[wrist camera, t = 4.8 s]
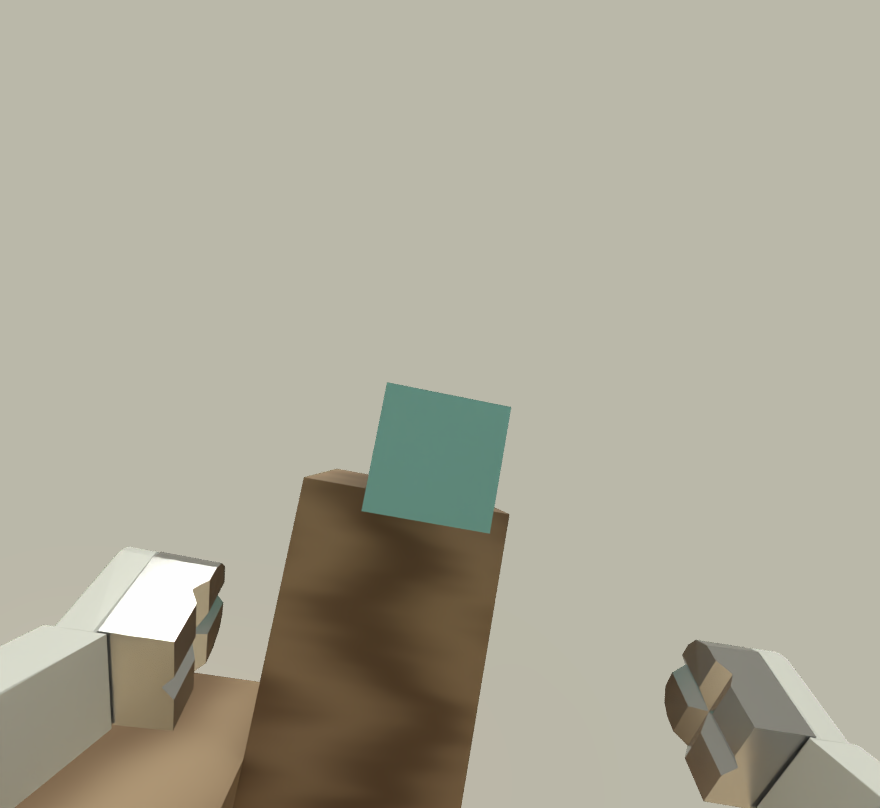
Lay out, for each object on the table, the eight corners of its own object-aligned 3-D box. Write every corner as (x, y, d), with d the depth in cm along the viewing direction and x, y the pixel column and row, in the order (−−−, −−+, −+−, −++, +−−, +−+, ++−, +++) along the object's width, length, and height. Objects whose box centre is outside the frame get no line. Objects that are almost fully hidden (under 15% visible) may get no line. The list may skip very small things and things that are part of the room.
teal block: (361, 511, 12) (387, 382, 12) (374, 477, 31) (384, 428, 32) (489, 533, 12) (510, 406, 12) (422, 485, 32) (431, 437, 32)
